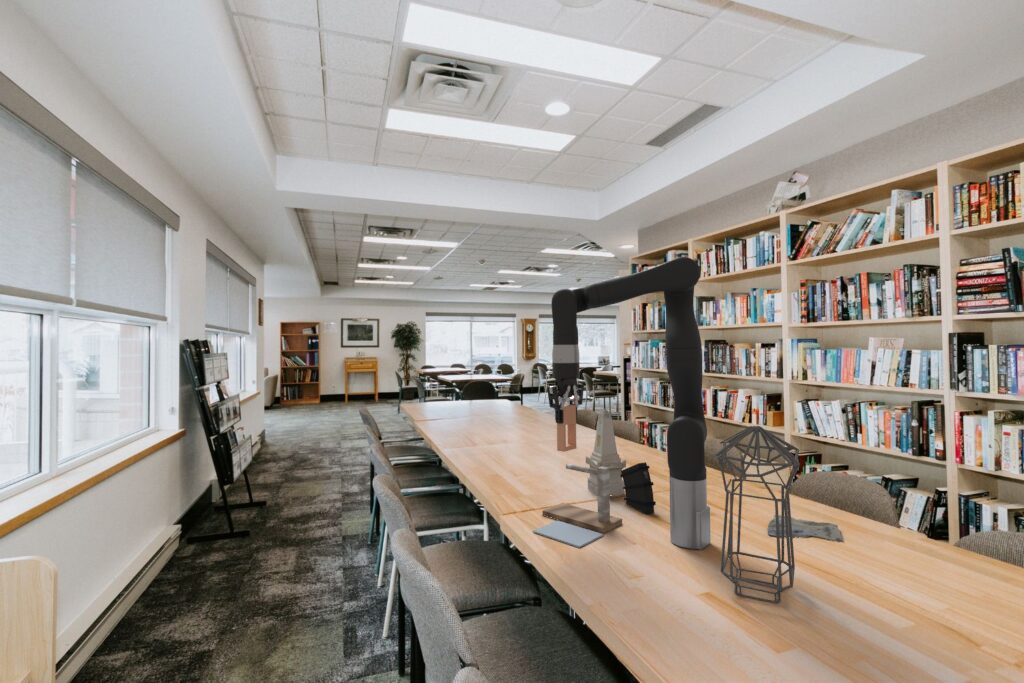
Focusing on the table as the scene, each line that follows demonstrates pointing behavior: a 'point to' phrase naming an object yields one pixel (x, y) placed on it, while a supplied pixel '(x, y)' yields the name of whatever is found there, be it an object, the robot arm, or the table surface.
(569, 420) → the salmon hollow block
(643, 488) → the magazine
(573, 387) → the robot arm
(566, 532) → the mat
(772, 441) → the geometric lantern
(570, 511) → the stand
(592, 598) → the table surface
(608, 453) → the miniature monument
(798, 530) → the fossil rock
